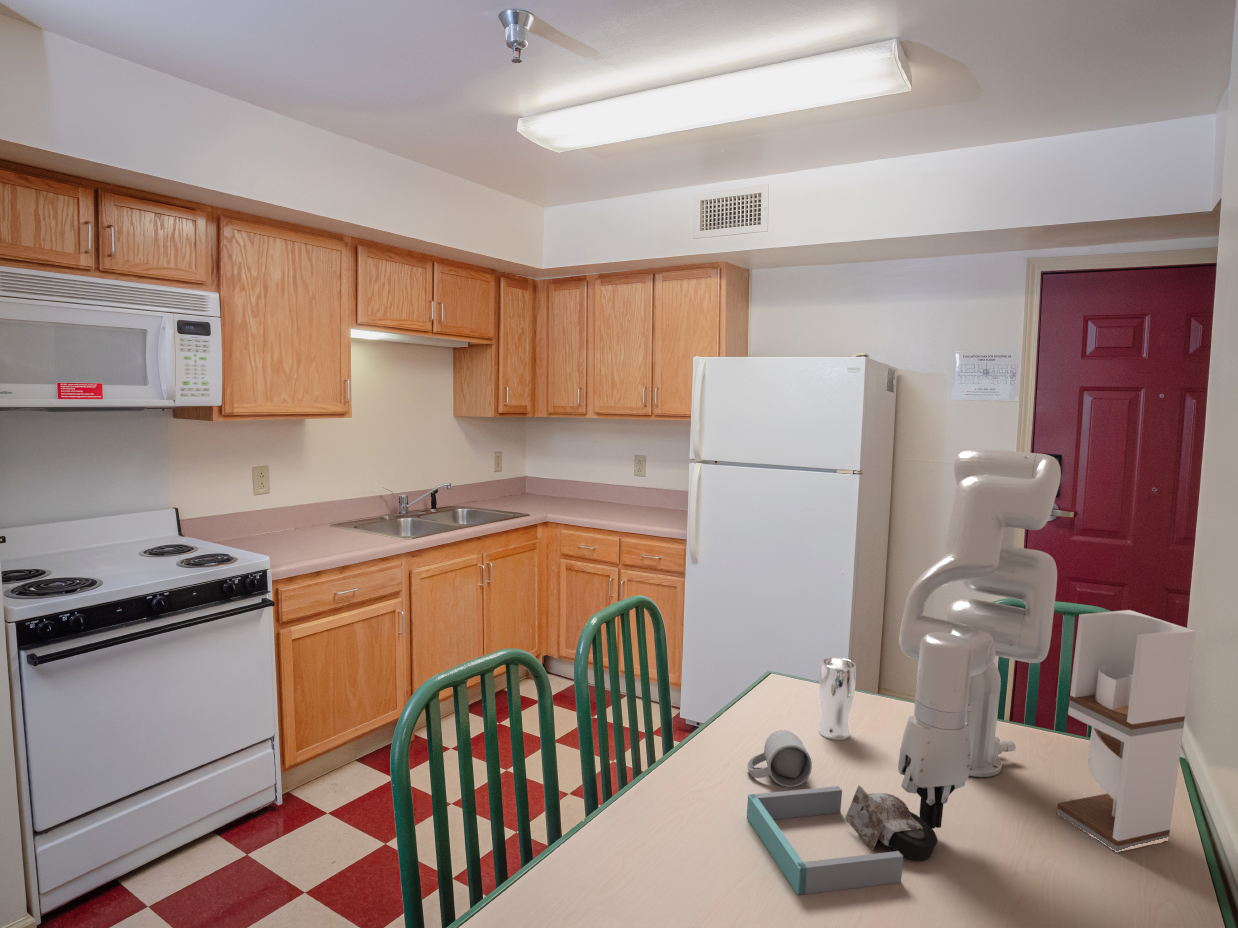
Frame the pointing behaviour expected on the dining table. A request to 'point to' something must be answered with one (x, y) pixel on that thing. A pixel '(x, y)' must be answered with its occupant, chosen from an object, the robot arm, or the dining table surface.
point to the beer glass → (836, 696)
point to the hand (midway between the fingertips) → (930, 822)
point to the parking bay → (818, 872)
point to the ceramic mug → (783, 760)
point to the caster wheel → (890, 824)
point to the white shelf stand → (1130, 722)
